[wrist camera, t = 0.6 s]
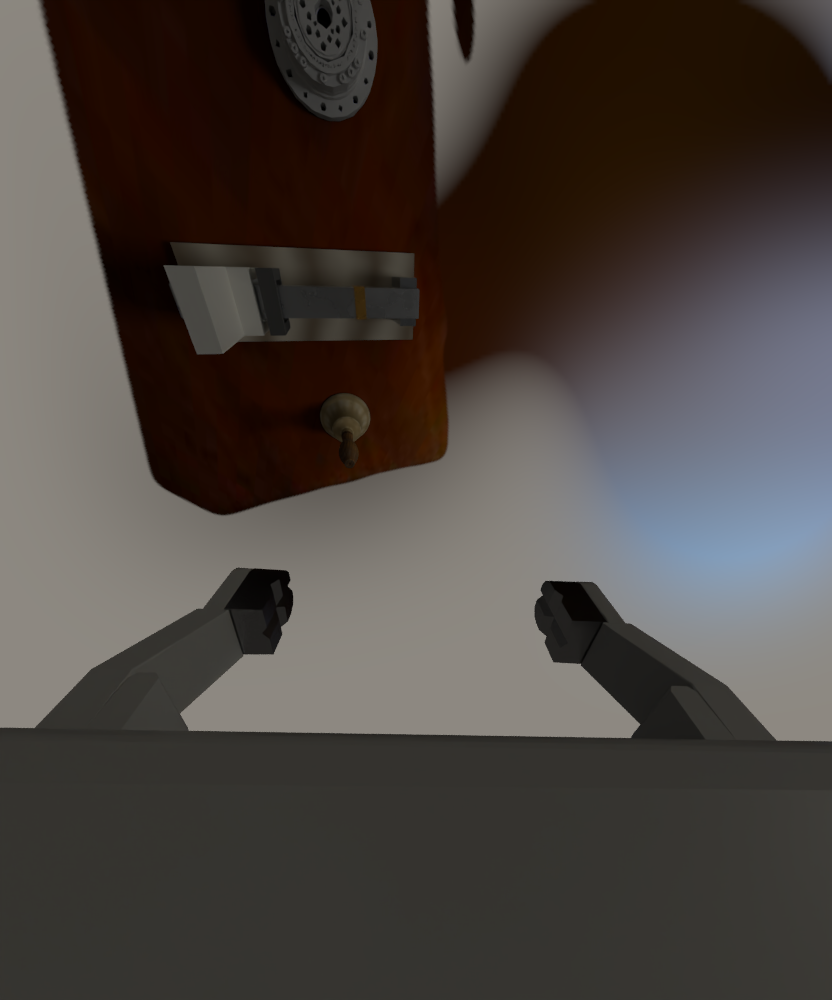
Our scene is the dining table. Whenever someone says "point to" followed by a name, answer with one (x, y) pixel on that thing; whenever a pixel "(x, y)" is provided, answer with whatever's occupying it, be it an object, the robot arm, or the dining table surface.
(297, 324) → the base board
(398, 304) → the grey clamp fixture
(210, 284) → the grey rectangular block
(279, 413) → the dining table surface
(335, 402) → the hand bell
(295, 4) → the mechanical component
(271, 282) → the dark grey rubber pad
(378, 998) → the robot arm
